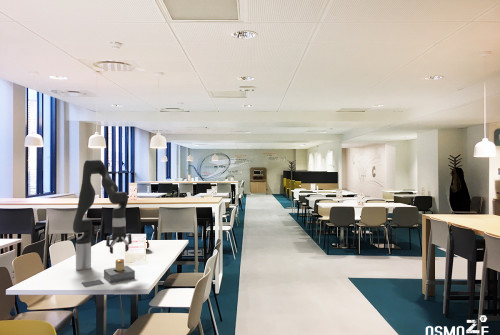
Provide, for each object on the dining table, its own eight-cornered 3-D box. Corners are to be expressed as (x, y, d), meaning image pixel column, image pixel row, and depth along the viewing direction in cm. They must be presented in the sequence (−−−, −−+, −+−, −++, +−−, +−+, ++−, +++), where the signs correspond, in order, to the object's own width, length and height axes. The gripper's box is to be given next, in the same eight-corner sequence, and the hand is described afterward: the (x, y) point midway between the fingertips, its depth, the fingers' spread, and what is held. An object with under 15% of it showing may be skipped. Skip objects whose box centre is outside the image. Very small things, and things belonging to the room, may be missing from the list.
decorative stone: (134, 251, 282) (134, 239, 282) (136, 246, 302) (136, 234, 302) (149, 250, 284) (148, 238, 284) (150, 245, 304) (150, 233, 304)
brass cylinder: (114, 278, 215) (114, 259, 215) (122, 276, 218) (122, 258, 218) (117, 280, 211) (116, 261, 211) (125, 278, 214) (125, 260, 214)
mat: (81, 283, 206) (81, 282, 206) (99, 279, 211) (99, 279, 211) (85, 288, 198) (85, 287, 198) (104, 284, 203) (104, 283, 203)
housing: (103, 277, 216) (103, 269, 216) (127, 273, 224) (127, 265, 224) (110, 283, 204) (110, 275, 204) (134, 279, 213) (134, 270, 213)
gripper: (129, 223, 221) (129, 249, 221) (104, 225, 213) (105, 252, 213) (132, 224, 215) (133, 251, 215) (108, 227, 207) (108, 255, 207)
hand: (119, 252), depth 214 cm, fingers open, 8 cm apart
